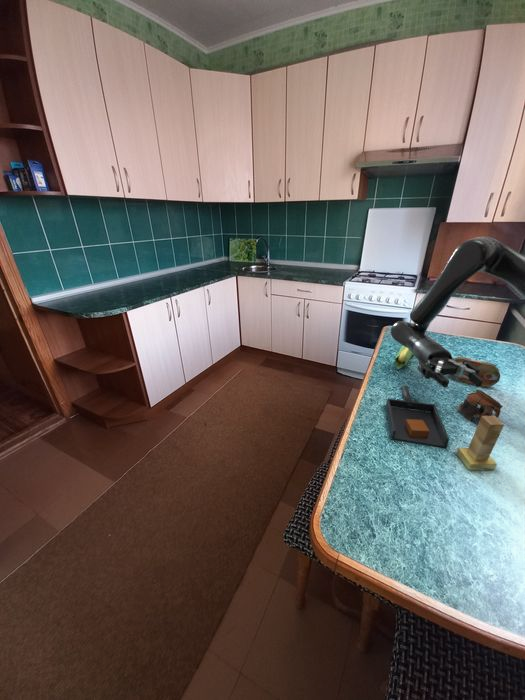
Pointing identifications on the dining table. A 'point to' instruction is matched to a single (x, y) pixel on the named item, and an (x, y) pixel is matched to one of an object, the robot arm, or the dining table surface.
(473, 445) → the pillar on square base
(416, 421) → the brown square block
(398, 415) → the pan
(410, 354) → the edible corn
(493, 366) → the tin
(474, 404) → the pottery mug
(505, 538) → the dining table surface
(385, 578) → the dining table surface
